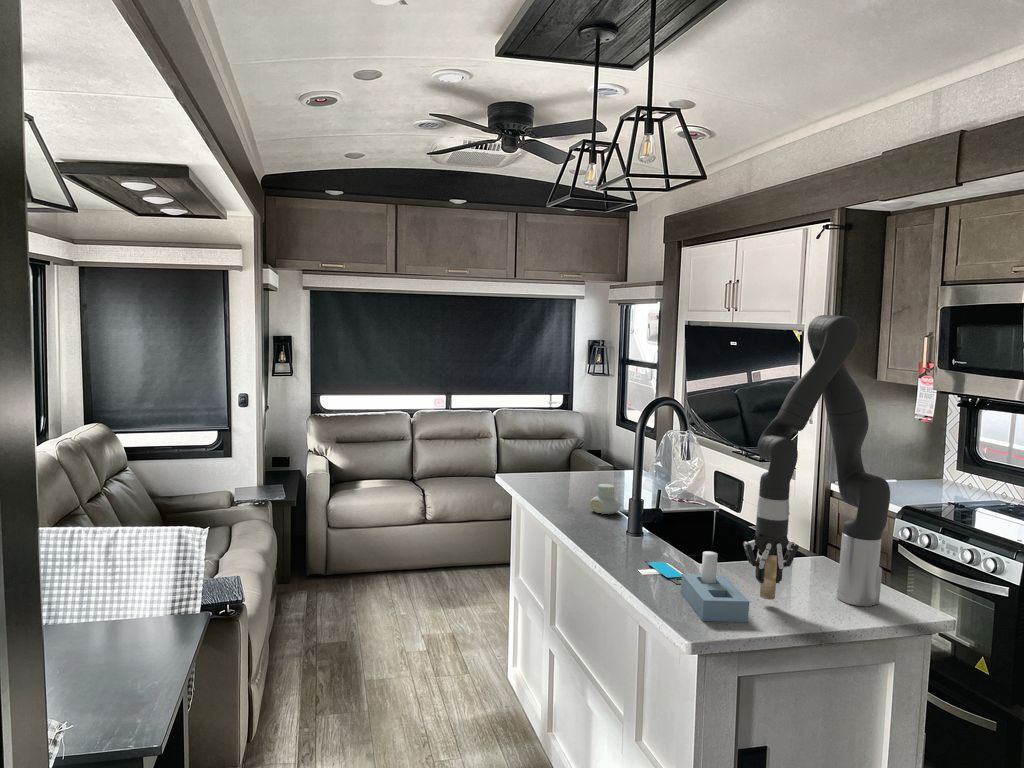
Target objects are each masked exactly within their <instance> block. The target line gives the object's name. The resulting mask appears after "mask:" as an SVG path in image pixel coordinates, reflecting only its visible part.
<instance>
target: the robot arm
mask: <svg viewBox="0 0 1024 768" xmlns="http://www.w3.org/2000/svg"><path fill="white" fill-rule="evenodd" d="M806 336H807V342H808V345H809V349H810V351H811V355H812V357H813V362H814V363H813V364H812V366H811V367H810V368H809V369H808V370H807V371H806V372H805V374H804V375H803V376H801V378H800V379H799V380H797V382H796V383H795V384H794V385H793V386H792V388H791V389H790V390H789V391H788V393H787V395H786V397H785V398H784V401H783V403H782V404H781V407H780V409H779V410H778V413H777V415H776V416H775V418H773V420H772V421H771V422H770V423H769V424H768V426H767V427H766V428H765V429H764V431H763V432H762V434H761V435H760V437H759V440H758V442H757V448H756V449H757V453H758V455H759V457H760V458H761V459H762V460H764V461H766V462H769V467H768V471H766V472H764V473H762V474H761V476H760V479H759V480H760V481H759V491H758V501H757V506H756V507H757V508H756V521H755V536H754V537H753V539H752V540H750V541H746V540H745V541H743V542H742V546H743V549H744V552H745V555H746V557H747V561H748V563H749V564H751V565H752V567H755V579H756V581H757V582H758V583H759V584H761V583H763V581H764V569H763V567H764V564H765V561H766V560H767V557H768V555H777V576H776V584H780V582H781V581H782V580H783V569H785V568H786V567H788V568H789V567H791V565H792V563H793V561H794V559H795V557H796V555H797V553H798V550H799V545H798V544H797V543H796V542H794V541H789V539H788V533H789V522H790V521H789V519H790V490H791V489H790V488H791V486H790V485H791V480H792V478H793V475H794V473H795V469H796V466H797V463H798V458H799V456H798V455H799V452H798V451H799V450H798V447H797V446H798V445H797V444H796V443H795V441H794V440H793V439H791V437H792V436H793V434H794V433H797V432H801V431H803V430H804V429H805V427H806V426H807V425H808V422H809V420H810V418H811V417H812V414H813V412H814V410H815V408H816V406H817V404H818V402H819V400H820V399H821V397H822V396H823V400H824V406H825V411H826V412H825V413H826V416H827V417H826V418H827V422H828V425H829V426H828V427H829V429H830V434H831V439H832V444H833V449H834V451H833V452H834V455H835V463H836V473H837V475H836V476H837V484H838V485H837V486H838V490H839V495H840V497H841V498H842V500H843V502H845V503H846V504H847V505H849V506H851V507H854V508H857V512H856V516H855V519H848V520H845V521H844V522H843V523H842V532H841V540H840V541H841V542H840V552H839V553H840V554H839V555H840V556H839V567H838V574H837V575H838V577H837V588H836V598H837V600H839V601H841V602H843V603H846V604H849V605H853V606H859V607H871V606H872V605H873V606H875V605H879V604H880V597H881V588H882V587H881V586H882V579H883V578H882V575H883V568H882V566H880V558H881V547H882V537H883V532H884V530H885V528H886V526H887V521H888V516H889V515H888V514H889V509H890V502H891V488H890V485H889V482H888V481H887V480H886V479H885V478H883V477H881V476H878V475H875V474H871V473H868V472H866V471H865V468H864V464H863V460H862V459H863V458H862V447H863V443H864V441H865V439H866V436H867V433H868V431H869V426H870V425H869V416H868V411H867V405H866V401H865V398H864V396H863V394H862V391H861V390H860V388H859V387H858V385H857V383H855V382H856V381H854V379H853V377H852V376H851V374H850V373H849V371H848V370H847V367H846V364H845V362H846V360H847V358H848V357H849V356H850V354H852V351H853V350H854V349H855V347H856V345H857V343H858V341H859V337H860V327H859V324H858V323H857V322H856V320H854V318H851V317H850V316H847V315H846V316H844V315H831V314H827V315H826V314H821V315H818V316H815V317H814V318H813V319H812V320H811V321H810V322H809V325H808V326H807V335H806ZM755 546H756V548H757V552H756V556H755V554H754V550H755ZM785 549H786V551H785V554H784V556H783V551H784V550H785Z"/></svg>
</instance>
